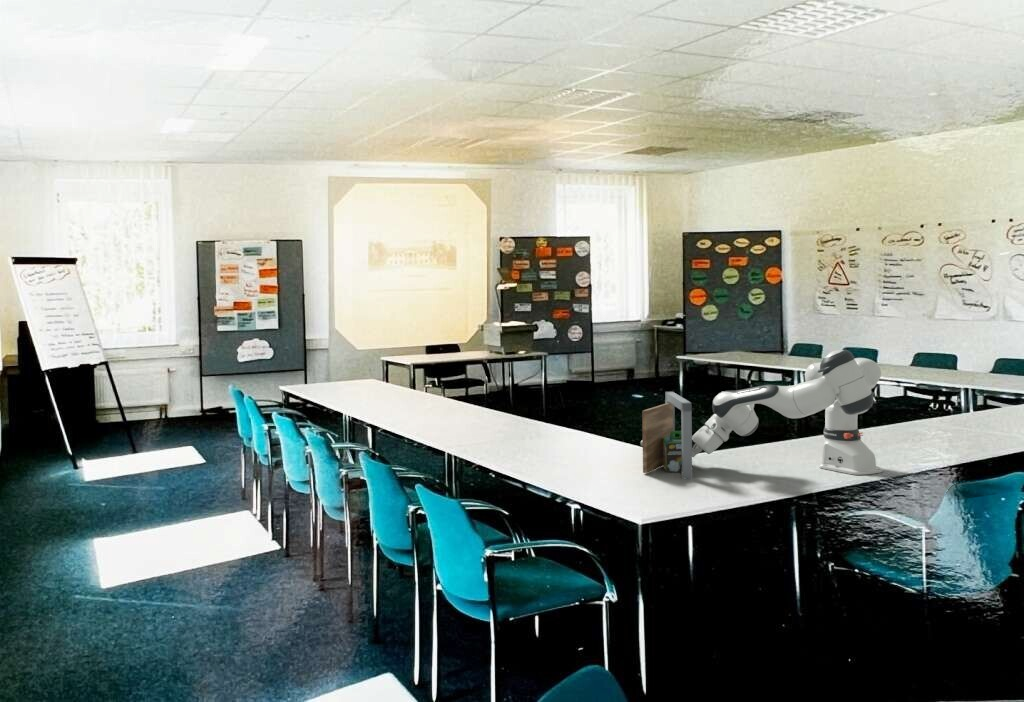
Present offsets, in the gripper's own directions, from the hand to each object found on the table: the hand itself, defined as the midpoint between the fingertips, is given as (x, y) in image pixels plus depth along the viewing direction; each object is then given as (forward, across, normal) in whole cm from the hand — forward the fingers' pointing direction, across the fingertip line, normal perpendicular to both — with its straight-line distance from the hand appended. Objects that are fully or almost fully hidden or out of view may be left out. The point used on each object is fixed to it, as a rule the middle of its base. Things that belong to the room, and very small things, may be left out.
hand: (690, 455), depth 303 cm
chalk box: (+8, -1, 0) cm, 8 cm away
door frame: (+7, -2, +1) cm, 7 cm away
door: (+12, -4, -5) cm, 13 cm away
